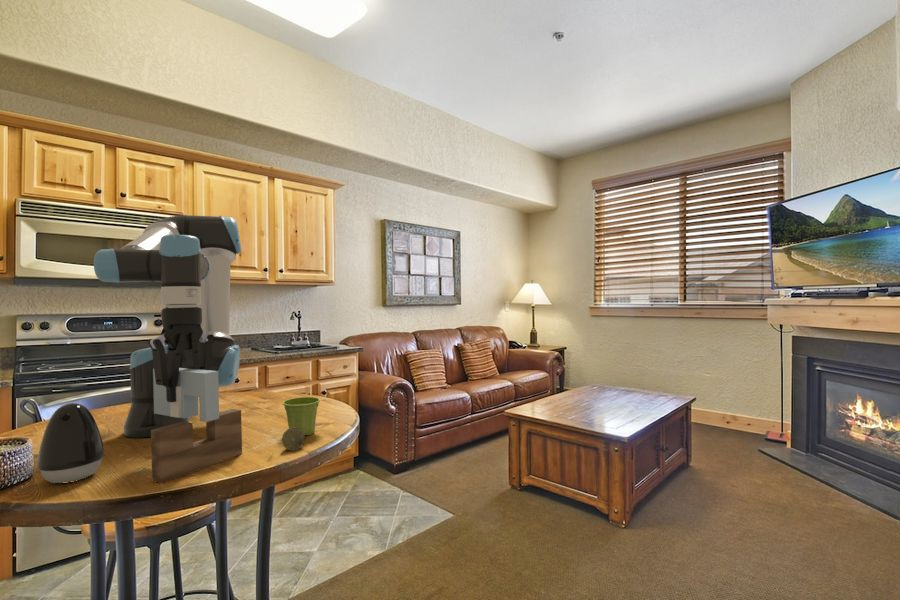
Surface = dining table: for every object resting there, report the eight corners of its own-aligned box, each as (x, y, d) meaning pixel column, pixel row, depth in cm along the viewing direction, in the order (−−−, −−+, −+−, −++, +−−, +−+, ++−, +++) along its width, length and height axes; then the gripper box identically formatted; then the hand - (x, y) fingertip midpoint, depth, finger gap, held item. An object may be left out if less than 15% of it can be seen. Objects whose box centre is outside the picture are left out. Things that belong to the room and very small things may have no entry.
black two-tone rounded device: (27, 494, 83) (25, 412, 83) (50, 474, 92) (48, 401, 92) (95, 483, 87) (93, 405, 87) (111, 466, 96) (109, 395, 96)
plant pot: (326, 428, 121) (325, 396, 121) (312, 439, 111) (311, 404, 111) (293, 428, 122) (292, 396, 122) (276, 439, 112) (275, 404, 112)
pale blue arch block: (154, 413, 99) (153, 368, 99) (167, 410, 102) (166, 366, 102) (205, 422, 91) (204, 373, 91) (219, 418, 94) (218, 371, 94)
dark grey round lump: (307, 446, 106) (306, 425, 106) (294, 453, 101) (293, 431, 101) (291, 445, 107) (290, 424, 107) (277, 451, 103) (277, 430, 103)
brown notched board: (152, 481, 87) (150, 430, 87) (233, 451, 103) (232, 408, 103) (161, 483, 86) (159, 431, 86) (242, 453, 102) (241, 410, 102)
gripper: (153, 307, 88) (156, 426, 88) (226, 305, 102) (229, 407, 102) (131, 308, 91) (134, 422, 91) (205, 306, 106) (208, 404, 106)
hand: (184, 414), depth 97 cm, fingers closed on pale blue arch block, 3 cm apart
